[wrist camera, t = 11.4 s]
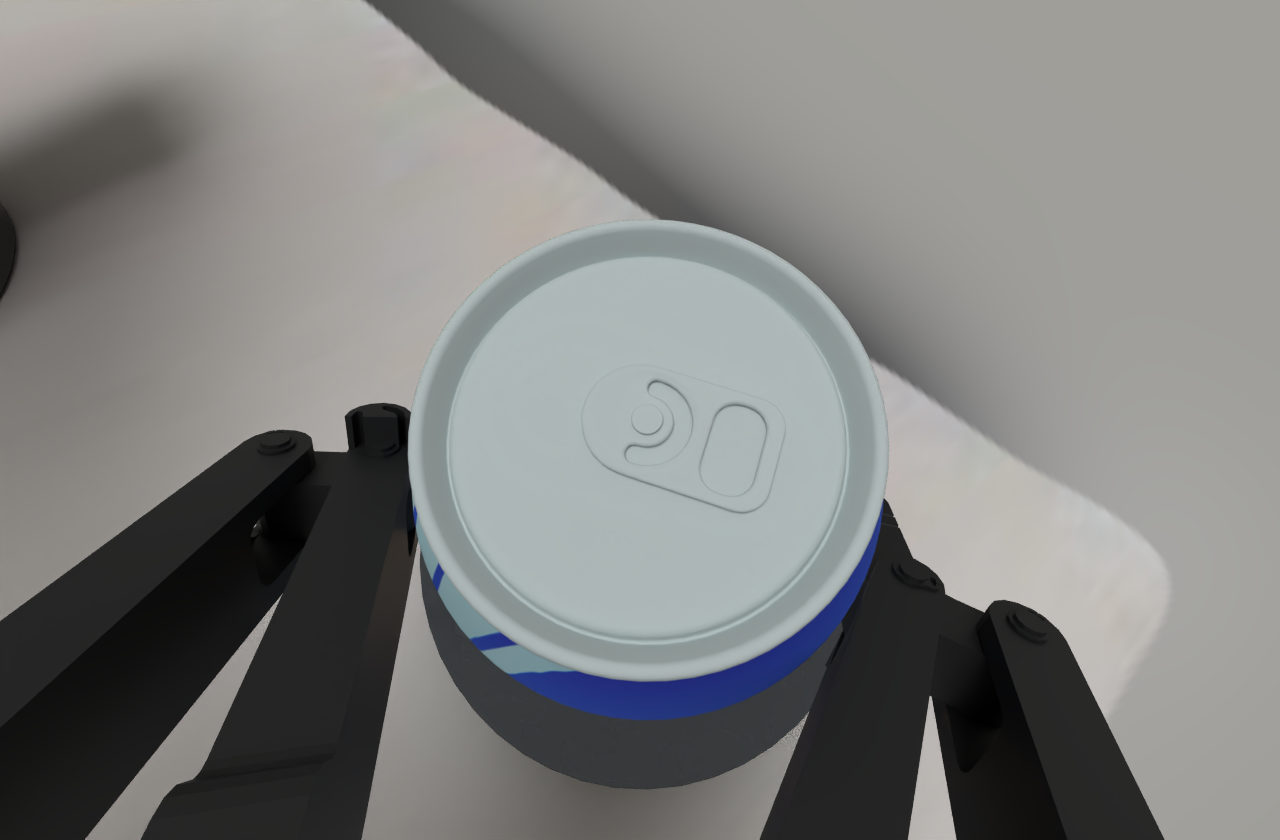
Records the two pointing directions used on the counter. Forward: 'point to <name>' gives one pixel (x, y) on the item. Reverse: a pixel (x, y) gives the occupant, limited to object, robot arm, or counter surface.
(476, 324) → the beer can
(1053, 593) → the counter surface
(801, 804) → the robot arm
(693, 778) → the collar plate
